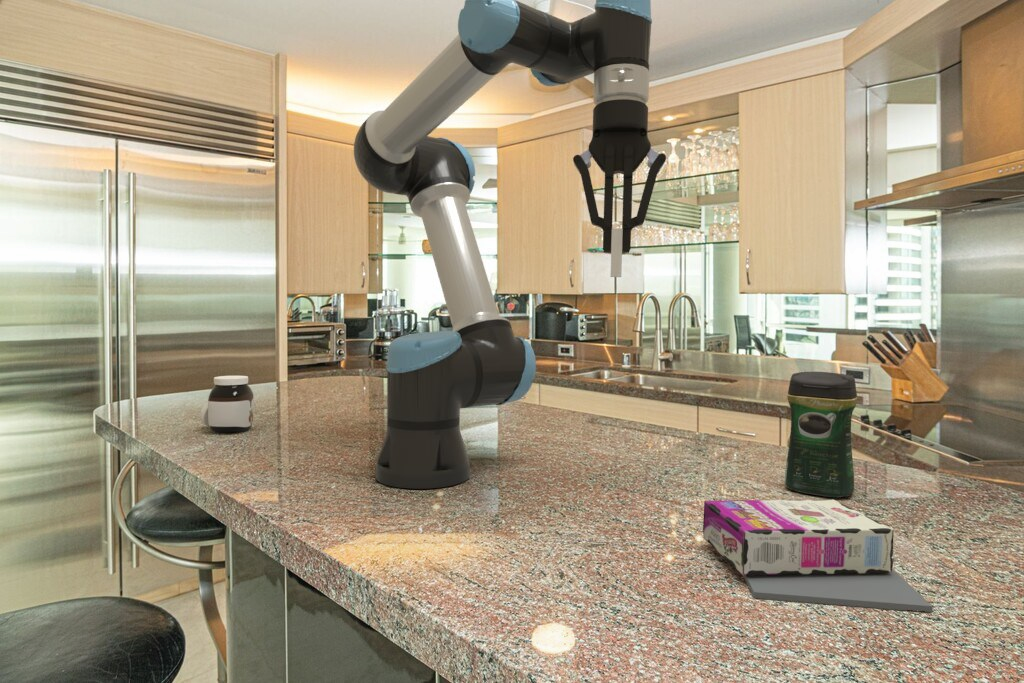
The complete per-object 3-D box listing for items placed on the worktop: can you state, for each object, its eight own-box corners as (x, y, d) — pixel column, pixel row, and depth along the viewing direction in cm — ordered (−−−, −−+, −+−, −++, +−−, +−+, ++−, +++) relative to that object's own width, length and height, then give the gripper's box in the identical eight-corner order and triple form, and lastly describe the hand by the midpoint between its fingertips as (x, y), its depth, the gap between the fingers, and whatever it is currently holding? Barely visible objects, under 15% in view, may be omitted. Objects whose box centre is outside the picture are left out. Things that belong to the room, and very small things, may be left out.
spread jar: (239, 435, 135) (238, 380, 134) (185, 434, 135) (184, 379, 135) (262, 425, 147) (261, 373, 146) (212, 424, 147) (212, 373, 146)
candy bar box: (741, 579, 66) (894, 575, 67) (742, 531, 66) (896, 528, 67) (701, 540, 77) (833, 537, 79) (702, 499, 77) (835, 497, 78)
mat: (753, 598, 63) (754, 592, 63) (725, 539, 79) (725, 534, 79) (932, 612, 61) (932, 606, 61) (866, 549, 77) (866, 544, 77)
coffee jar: (857, 491, 101) (863, 372, 100) (847, 503, 95) (852, 376, 94) (792, 480, 107) (797, 368, 106) (778, 490, 101) (783, 371, 100)
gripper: (571, 98, 87) (567, 274, 88) (671, 95, 85) (665, 276, 86) (574, 114, 94) (571, 277, 96) (666, 111, 92) (661, 278, 94)
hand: (615, 276), depth 91 cm, fingers closed
